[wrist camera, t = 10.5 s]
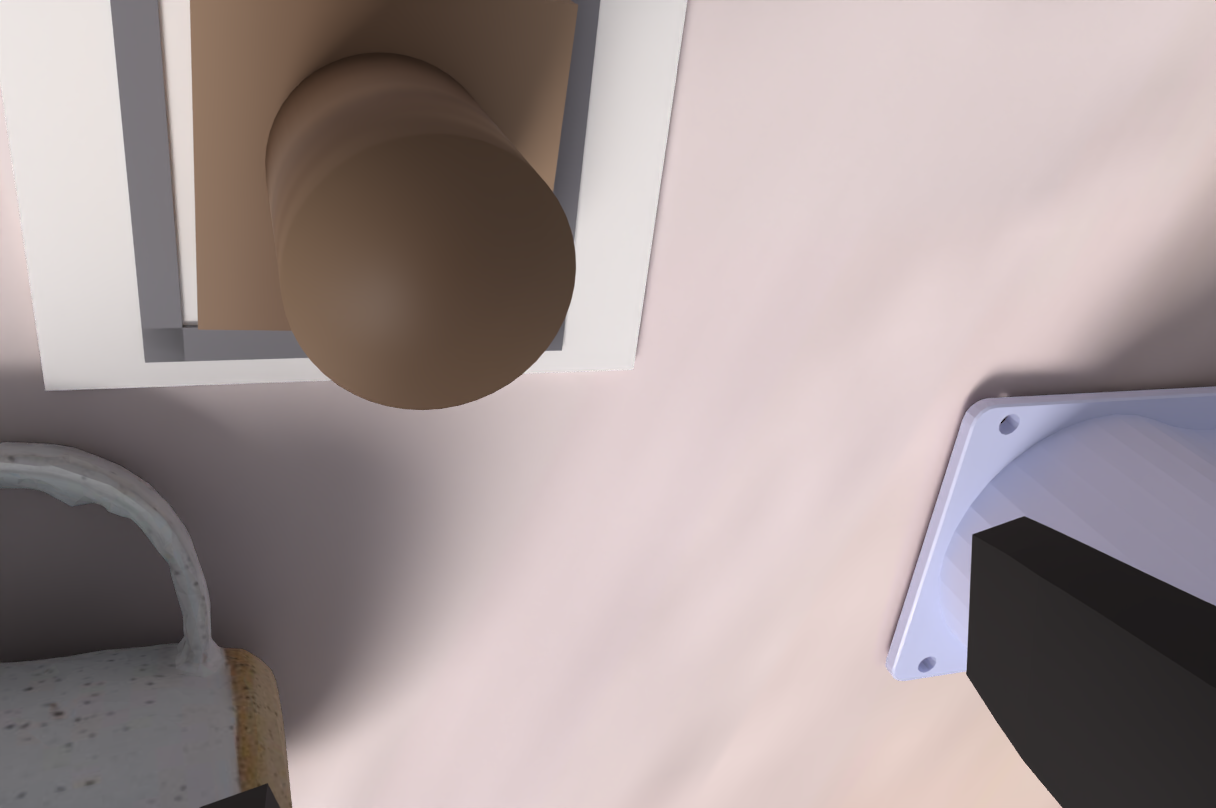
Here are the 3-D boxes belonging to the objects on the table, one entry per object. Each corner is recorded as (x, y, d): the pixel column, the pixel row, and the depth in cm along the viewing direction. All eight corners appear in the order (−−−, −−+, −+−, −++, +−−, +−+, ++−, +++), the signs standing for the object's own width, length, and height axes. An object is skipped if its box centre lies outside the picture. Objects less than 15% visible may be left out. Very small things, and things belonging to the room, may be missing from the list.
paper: (695, -93, 16) (703, -91, 16) (629, 364, 20) (634, 372, 20) (-36, -182, 13) (-41, -182, 13) (47, 385, 17) (43, 393, 17)
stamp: (542, -15, 16) (688, 66, 11) (506, 287, 18) (614, 469, 13) (191, -63, 14) (178, 12, 9) (199, 279, 17) (191, 483, 12)
